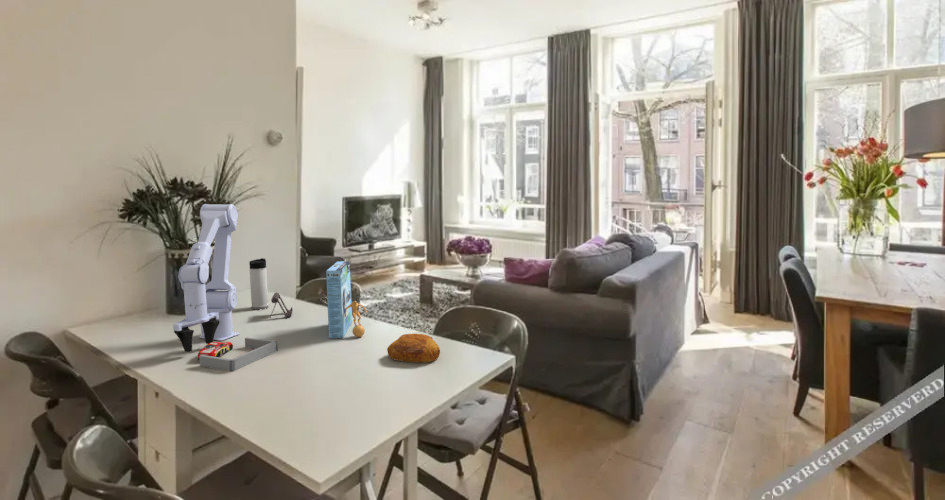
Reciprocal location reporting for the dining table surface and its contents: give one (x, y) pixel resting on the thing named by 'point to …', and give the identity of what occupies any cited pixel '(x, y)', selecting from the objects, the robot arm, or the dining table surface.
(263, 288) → the travel mug
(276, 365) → the dining table surface
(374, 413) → the dining table surface
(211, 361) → the grey u-shaped wall
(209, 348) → the race car
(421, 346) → the croissant
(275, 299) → the portable electronic device stand
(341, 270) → the blue product box
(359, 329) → the figurine
